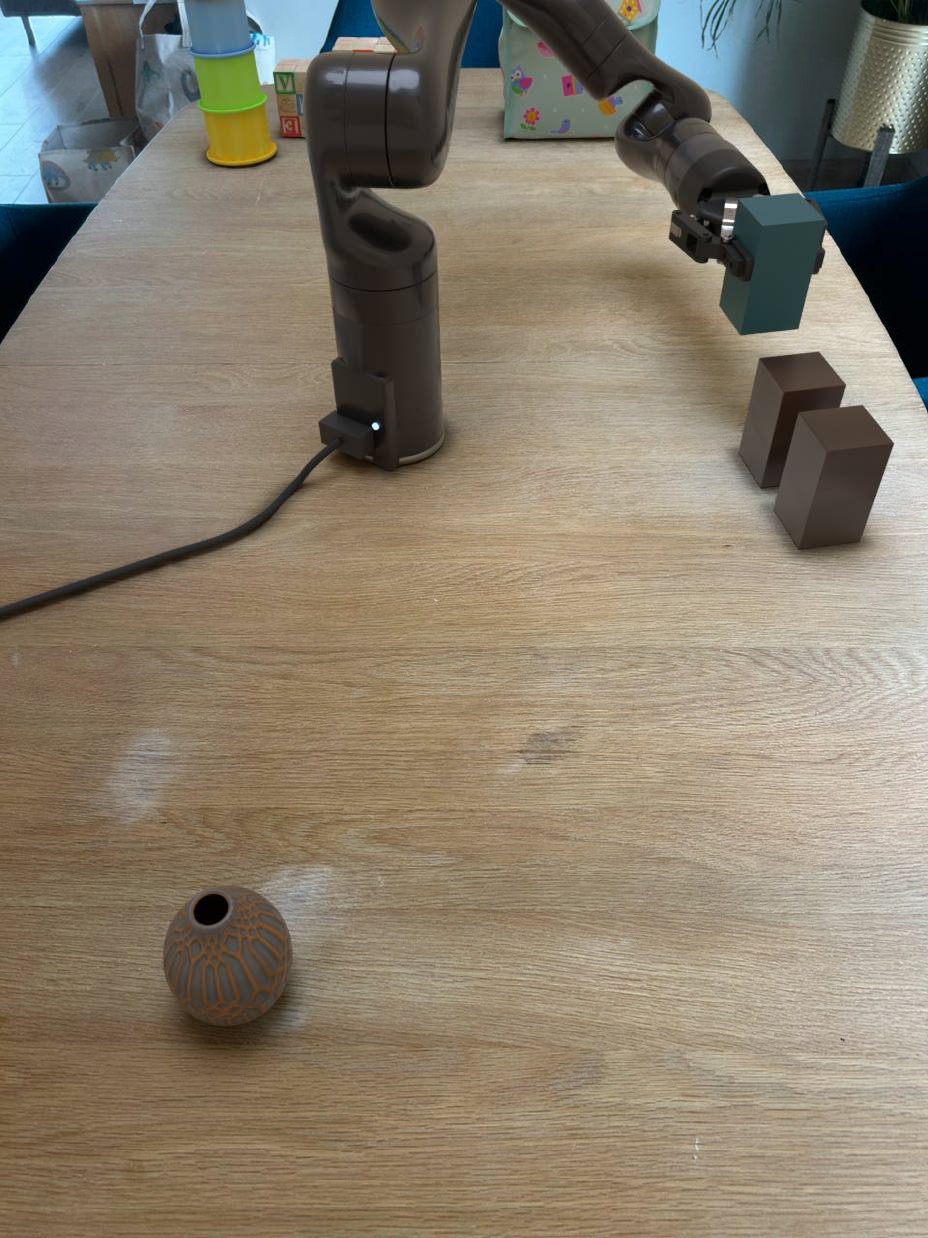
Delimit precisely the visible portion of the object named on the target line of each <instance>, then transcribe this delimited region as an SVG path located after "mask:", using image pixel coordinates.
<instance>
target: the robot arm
mask: <svg viewBox="0 0 928 1238" xmlns="http://www.w3.org/2000/svg"><path fill="white" fill-rule="evenodd" d="M478 1H479V0H370V4H371V5H370V6H371V7H372V12H373V14H374V17H375V20H376V22H377V24H378V26H379V28H380V30H381V32H382V33H383V35H384V37H386V38H387V39H388V41H389V42H390V43H391V44H392V46H393V47H394V48H395V49H396V51H397V52H398V54H397V53H373V52H332V51H326V52H321V53H319V54H316V55H315V56H314V57H313V58H312V59H313V60H312V61H311V63H310V65H309V67H308V69H307V71H306V76H305V80H304V85H303V100H302V106H303V122H304V131H305V137H304V138H305V143H306V144H305V145H306V150H307V156H308V162H309V167H310V172H311V179H312V183H313V184H312V185H313V189H314V194H315V201H316V207H317V213H318V221H319V222H318V223H319V228H320V237H321V241H322V242H321V243H322V245H323V250H324V254H325V260H326V269H327V275H328V284H329V293H330V300H331V311H332V319H333V326H334V327H333V328H334V336H335V344H336V353H337V357H335V358H333V359H332V360H331V362H330V368H331V369H330V370H331V376H332V377H331V378H332V385H333V392H334V394H333V395H334V401H335V408H336V409H333V410H332V411H331V412H329V413H328V414H327V415H325V416H324V417H323V418H321V419H319V420H318V430H319V437H320V442H321V444H323V445H326V446H325V447H324V448H322V449H321V450H320V451H319V452H318V453H317V454H315V455H314V456H313V457H312V458H311V459H310V460H309V461H308V462H307V463H306V464H305V466H304V467H303V468H302V469H301V471H300V472H299V473H298V474H297V476H296V477H295V478H293V480H292V481H291V482H290V483H289V484H288V486H287V487H285V489H284V490H283V491H282V492H281V493H280V494H279V496H277V498H276V499H274V501H273V502H271V503H270V505H268V506H267V507H266V508H265V509H264V510H262V511H261V512H260V513H258V514H257V515H255V516H254V517H252V518H251V519H249V520H248V521H246V522H244V523H243V524H240V525H239V526H237V527H234V528H233V529H231V530H229V531H227V532H224V533H222V534H219V535H217V536H213V537H210V538H207V539H204V540H200V541H198V542H197V541H196V542H194V543H191V544H187V545H184V546H180V547H176V548H173V549H170V550H167V551H164V552H161V553H158V554H155V555H151V556H149V557H146V558H143V559H140V560H138V561H134V562H131V563H129V564H125V565H122V566H119V567H116V568H113V569H109V570H107V571H104V572H101V573H98V574H95V575H92V576H89V577H86V578H84V579H80V580H76V581H74V582H70V583H68V584H66V585H63V586H59V587H57V588H53V589H50V590H48V591H45V592H41V593H39V594H35V595H33V596H29V597H27V598H24V599H21V600H18V601H15V602H13V603H9V604H6V605H3V606H1V607H0V619H1V618H4V617H6V616H10V615H12V614H14V613H19V612H21V611H23V610H26V609H29V608H32V607H35V606H37V605H41V604H44V603H46V602H49V601H52V600H56V599H59V598H61V597H65V596H68V595H70V594H73V593H75V592H78V591H82V590H84V589H88V588H91V587H94V586H96V585H97V586H98V585H100V584H102V583H105V582H109V581H112V580H114V579H117V578H121V577H123V576H127V575H130V574H133V573H136V572H138V571H142V570H145V569H147V568H150V567H154V566H156V565H159V564H162V563H164V562H167V561H171V560H174V559H177V558H180V557H181V558H182V557H183V556H187V555H191V554H194V553H198V552H202V551H204V550H208V549H211V548H214V547H218V546H219V545H222V544H225V543H228V542H230V541H232V540H234V539H236V538H238V537H241V536H242V535H244V534H246V533H248V532H249V531H251V530H253V529H254V528H256V527H257V526H259V525H260V524H262V523H263V522H265V521H266V520H267V519H268V518H270V517H271V516H272V515H273V514H274V513H276V512H277V511H278V510H279V509H280V507H281V506H282V505H283V504H284V503H285V502H286V501H287V500H288V499H289V498H290V496H292V495H293V493H294V492H296V491H297V489H298V488H299V487H300V486H302V484H303V483H304V482H305V481H306V480H307V478H308V477H309V475H310V474H311V473H312V471H313V470H314V469H316V467H317V466H318V465H319V464H320V463H322V462H323V461H324V460H325V459H326V458H328V456H330V455H331V454H332V453H333V452H334V451H336V450H337V451H339V452H341V453H343V454H346V455H349V456H351V457H353V458H355V459H357V460H360V461H362V460H364V461H366V462H368V463H372V464H374V465H377V466H379V467H380V468H383V469H385V470H387V471H394V470H395V469H397V467H400V466H403V465H408V464H413V463H417V462H419V461H422V460H424V459H426V458H428V457H431V456H432V455H433V454H435V453H436V452H437V451H438V450H439V449H440V448H441V446H442V445H443V443H444V441H445V435H446V434H445V433H446V432H445V431H446V430H445V424H444V411H443V383H442V382H443V379H442V356H441V355H442V354H441V353H442V352H441V328H440V327H441V325H440V302H439V301H440V299H439V298H440V297H439V296H440V294H439V292H440V291H439V270H438V269H439V266H438V244H437V237H436V235H435V232H434V231H433V229H432V227H431V226H430V225H429V224H428V223H427V222H426V221H425V220H423V219H422V218H420V217H419V216H416V215H415V214H412V213H411V212H408V211H406V210H404V209H401V208H399V207H397V206H395V205H393V204H392V203H389V202H387V201H386V200H385V199H383V198H382V197H380V196H379V195H378V193H377V194H376V192H375V191H373V190H372V189H383V190H403V191H405V190H408V191H409V190H419V189H423V188H427V187H430V186H432V185H433V184H434V183H436V182H437V181H438V179H439V178H440V177H441V175H442V173H443V171H444V169H445V166H446V162H447V161H448V157H449V152H450V149H451V142H452V137H453V136H452V135H453V130H454V122H455V114H456V107H457V100H458V99H457V98H458V91H459V82H460V76H461V68H462V62H463V56H464V53H465V48H466V46H467V45H466V44H467V41H468V37H469V33H470V30H471V26H472V24H473V23H472V22H473V19H474V16H475V13H476V9H477V5H478ZM495 1H496V3H498V4H500V6H502V8H503V7H505V8H506V9H507V10H508V11H509V12H510V13H512V14H513V15H514V16H515V17H516V18H517V19H519V20H520V21H521V22H522V23H523V24H524V25H525V26H526V27H527V28H529V29H530V30H531V31H532V32H533V33H534V34H535V35H536V36H537V37H538V38H539V39H540V40H541V42H542V43H543V44H544V45H545V46H546V47H547V48H548V49H549V50H550V51H551V52H552V54H553V55H554V56H555V57H556V58H557V59H558V61H559V62H560V63H561V64H562V65H563V66H564V68H565V69H566V70H567V71H568V72H569V73H570V74H571V76H572V77H573V78H574V79H575V80H576V81H577V83H578V84H580V86H581V87H582V88H583V89H584V91H585V92H586V93H587V94H588V95H589V96H590V97H591V98H592V99H593V100H595V101H597V102H604V101H606V100H608V99H610V98H611V97H613V96H614V95H615V94H617V93H618V92H619V91H621V90H622V89H624V88H625V87H626V86H628V85H630V84H632V83H634V82H639V81H644V82H647V83H649V84H650V85H652V89H651V90H650V91H649V92H648V93H647V94H646V95H645V97H644V98H643V99H642V100H641V101H640V102H639V103H638V104H637V105H636V106H635V107H634V108H633V109H632V112H631V111H630V112H629V113H628V114H627V115H626V116H625V118H624V119H623V120H622V121H621V122H620V124H619V125H618V127H617V129H616V132H615V137H613V143H614V144H613V145H614V150H615V153H616V155H617V157H618V159H619V160H620V161H621V162H622V164H624V166H625V167H626V168H628V169H629V170H630V171H631V172H633V173H634V174H636V175H637V176H640V177H642V178H644V179H646V180H648V181H652V182H656V183H660V184H661V185H662V186H663V187H664V189H665V190H666V191H667V193H668V194H669V196H670V198H671V201H672V203H673V204H674V206H675V207H676V208H677V209H674V210H672V211H671V218H670V223H669V230H668V232H669V233H668V239H669V241H670V242H671V243H673V244H674V245H675V246H676V247H677V248H678V249H680V250H681V251H682V252H683V253H685V254H686V255H687V256H688V257H689V258H691V260H693V261H694V262H695V263H697V264H701V265H703V264H704V265H705V264H707V263H708V262H709V259H710V260H716V262H715V263H716V264H718V265H721V266H724V267H725V269H727V270H728V271H729V272H730V274H731V275H733V276H735V277H738V279H739V280H740V281H741V282H746V281H750V279H751V275H752V270H753V265H754V258H753V256H752V255H751V254H750V252H749V251H748V250H747V249H746V248H745V246H744V245H743V244H742V243H741V242H740V240H739V239H738V240H734V239H735V233H734V232H733V225H734V219H735V213H736V208H737V202H738V198H748V197H759V196H770V195H772V194H771V191H770V187H769V184H768V182H767V180H766V177H765V176H764V175H763V174H762V173H761V171H760V170H759V169H758V168H757V167H756V166H755V165H754V164H753V163H752V162H751V161H750V160H749V159H748V157H746V155H744V154H743V153H742V152H741V151H740V150H739V149H738V148H737V147H736V146H735V145H734V144H733V143H731V142H730V141H728V140H727V139H725V138H724V137H723V136H722V135H721V134H720V133H719V132H718V131H717V130H716V129H715V128H714V126H712V125H711V124H710V123H711V121H712V118H713V117H712V116H713V109H712V108H713V107H712V103H711V100H710V98H709V97H710V96H709V95H708V93H707V92H706V91H705V89H704V88H703V87H702V86H701V85H700V84H699V83H697V82H696V81H694V79H692V78H691V77H689V76H687V75H685V74H684V73H682V72H681V71H679V70H677V69H676V68H674V67H673V66H671V65H669V64H668V63H666V62H665V61H663V60H662V59H661V58H659V57H658V56H656V54H655V55H654V54H653V53H651V52H650V51H649V50H648V49H647V48H646V47H645V46H644V45H642V44H641V42H640V41H639V40H638V39H637V38H636V37H635V36H634V35H633V34H632V33H631V31H629V29H628V28H627V27H626V25H625V24H624V23H623V22H622V21H621V19H620V18H619V17H618V16H617V14H616V13H615V12H614V11H613V10H612V8H611V7H610V6H609V5H608V4H607V2H606V1H605V0H495ZM803 198H804V199H805V200H806V201H807V202H808V203H809V204H810V205H811V206H812V207H813V208H814V209H815V210H816V211H817V212H818V213H819V214H820V215H821V216H822V217H823V218H824V219H825V223H824V227H823V231H822V236H821V240H820V244H819V248H818V252H817V256H816V260H815V264H814V268H813V272H812V276H814V275H818V274H819V273H820V269H822V267H823V264H824V260H825V256H826V249H825V248H824V247H823V242H824V240H825V235H826V231H827V229H828V221H827V219H826V217H825V216H824V214H823V212H822V210H821V208H820V207H819V205H818V203H817V201H816V200H815V199H814V198H812V197H803Z"/></svg>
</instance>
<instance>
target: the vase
mask: <svg viewBox="0 0 928 1238" xmlns="http://www.w3.org/2000/svg"><path fill="white" fill-rule="evenodd" d="M162 948H163V949H162V968H163V973H164V978H165V980H166V983H167V985H168V988H169V990H170V992H171V994H172V995H173V997H174V999H175V1000H176V1001H177V1003H178V1005H180V1006H181V1008H183V1010H184V1011H186V1013H188V1014H189V1015H191V1016H192V1017H194V1018H196V1019H197V1020H199V1021H201V1022H203V1023H207V1024H210V1025H214V1026H219V1027H231V1026H232V1027H233V1026H239V1025H243V1024H246V1023H249V1022H252V1021H254V1020H256V1019H257V1018H259V1017H262V1015H264V1014H265V1013H267V1011H269V1010H270V1009H271V1008H272V1007H273V1006H274V1005H275V1004H276V1003H277V1001H278V1000H279V999H280V997H281V996H282V994H283V992H284V991H285V989H286V987H287V984H288V981H289V979H290V976H291V972H292V966H293V959H294V958H293V956H294V954H293V943H292V938H291V933H290V930H289V928H288V925H287V922H286V920H285V919H284V917H283V915H282V914H281V912H280V911H279V909H278V908H277V907H276V906H275V905H274V904H273V903H272V902H271V901H270V900H268V899H267V898H266V897H264V896H263V895H262V894H260V893H258V892H256V890H252V889H249V888H247V887H242V886H239V885H238V886H237V885H222V886H217V887H212V888H211V887H210V888H207V889H204V890H202V891H200V892H199V893H197V894H196V895H195V896H193V897H192V898H190V899H188V900H187V902H186V903H184V904H183V905H182V907H181V908H180V909H179V910H178V911H177V912H176V914H175V915H174V916H173V919H172V920H171V922H170V924H169V926H168V928H167V931H166V934H165V938H164V942H163V947H162Z"/></svg>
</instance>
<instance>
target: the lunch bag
mask: <svg viewBox="0 0 928 1238" xmlns="http://www.w3.org/2000/svg"><path fill="white" fill-rule="evenodd" d="M605 1H606V2H607V4H608V5H609V6H610V7H611V8H612V10H613V11H614V12H615V13H616V14H617V16H618V17H619V18H620V19H621V21H622V22H623V23H624V24H625V25H626V27H627V28H628V29H629V31H631V33H632V34H633V35H634V36H635V37H636V38H637V39H638V40H639V41H640V42H641V44H642V45H644V46H645V47H646V48H647V49H648V50H649V51H650V52H651V53H653V54H654V55H655V56H656V51H657V40H658V33H659V32H658V31H659V12H660V9H661V4H662V0H605ZM501 27H502V28H501V30H500V34H499V37H498V49H497V50H498V61H499V68H500V71H501V75H502V78H503V79H502V80H503V81H502V82H503V90H502V95H503V100H504V118H503V121H504V126H503V138H504V139H509V138H514V139H522V140H525V139H526V140H537V139H571V138H572V139H574V138H575V139H577V138H578V139H579V138H614V137H615V132H616V129H617V127H618V125H619V124H620V122H621V121H622V120H623V119H624V118H625V116H626V115H627V114H628V113H629V112H630V111H631V112H632V109H633V108H634V107H635V106H636V105H637V104H638V103H639V102H640V101H641V100H642V99H643V98H644V97H645V95H646V94H647V93H648V92H649V91H650V90H651V89H652V85H650V84H649V83H647V82H644V81H639V82H634V83H632V84H630V85H628V86H626V87H625V88H624V89H622V90H621V91H619V92H618V93H617V94H615V95H614V96H613V97H611V98H610V99H608V100H606V101H604V102H597V101H595V100H593V99H592V98H591V97H590V96H589V95H588V94H587V93H586V92H585V91H584V89H583V88H582V87H581V86H580V84H578V83H577V81H576V80H575V79H574V78H573V77H572V76H571V74H570V73H569V72H568V71H567V70H566V69H565V68H564V66H563V65H562V64H561V63H560V62H559V61H558V59H557V58H556V57H555V56H554V55H553V54H552V52H551V51H550V50H549V49H548V48H547V47H546V46H545V45H544V44H543V43H542V42H541V40H540V39H539V38H538V37H537V36H536V35H535V34H534V33H533V32H532V31H531V30H530V29H529V28H527V27H526V26H525V25H524V24H523V23H522V22H521V21H520V20H519V19H517V18H516V17H515V16H514V15H513V14H512V13H510V12H509V11H508V10H507V9H506V8H505V7H503V6H502V26H501Z"/></svg>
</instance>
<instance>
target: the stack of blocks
mask: <svg viewBox="0 0 928 1238" xmlns="http://www.w3.org/2000/svg"><path fill="white" fill-rule="evenodd" d="M331 52H373V53H397V54H398V52H397V51H396V49H395V48H394V47H393V46H392V44H391V43H390V42H389V41H388V39H387V38H386V36H380V37H352V36H351V37H349V36H339V37H338V38H337V39H336V41H335V43H334V46H333V47H332V49H331ZM313 59H314V58H281V59H280V60H279V62H278V63H277V65H276V66H275V68H274V69H273V70H272V78H273V84H274V85H273V86H274V91H275V95H276V104H277V113H278V116H279V117H278V118H279V126H280V127H279V128H280V133H281V134H280V135H281V137H292V138H293V137H294V138H295V137H302V138H306V137H305V131H304V122H303V106H302V100H303V85H304V80H305V76H306V71H307V69H308V67H309V65H310V63H311V61H312V60H313Z"/></svg>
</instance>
